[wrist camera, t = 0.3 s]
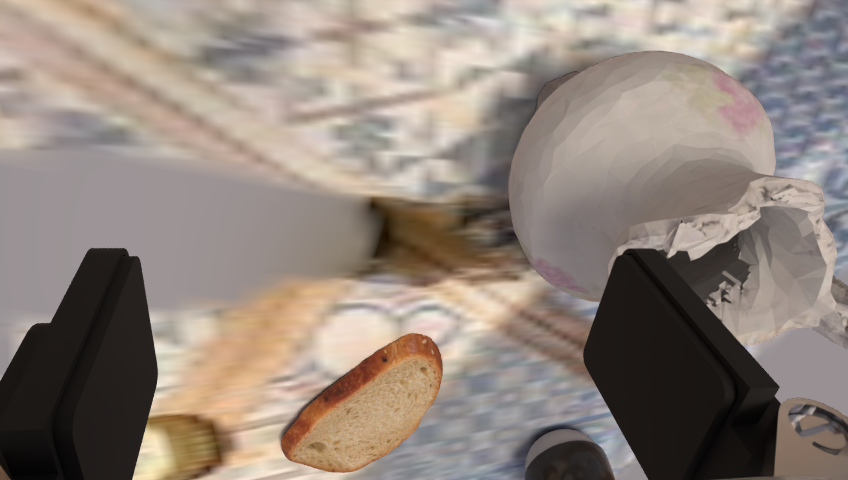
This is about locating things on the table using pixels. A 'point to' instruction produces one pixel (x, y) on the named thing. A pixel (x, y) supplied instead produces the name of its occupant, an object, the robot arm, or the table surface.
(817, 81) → the table surface
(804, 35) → the table surface
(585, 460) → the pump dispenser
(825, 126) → the table surface
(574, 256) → the ceramic pitcher
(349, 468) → the bread slice
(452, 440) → the table surface
